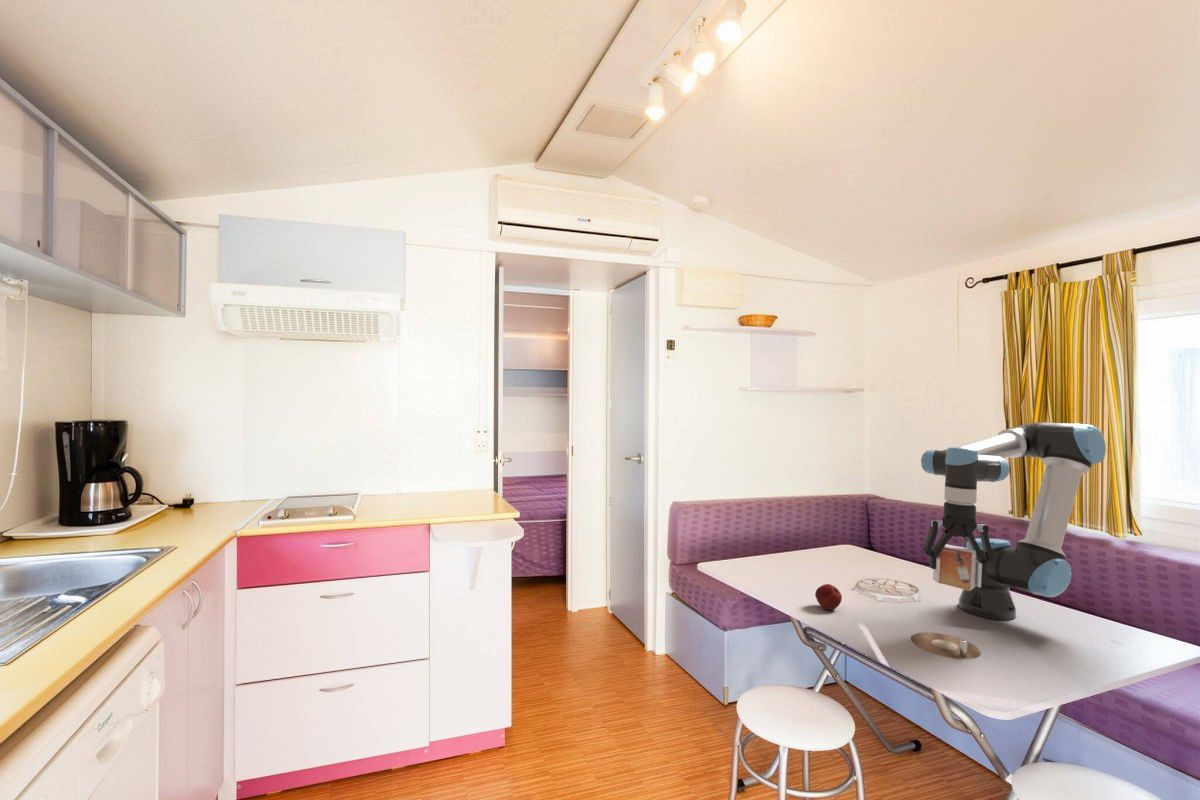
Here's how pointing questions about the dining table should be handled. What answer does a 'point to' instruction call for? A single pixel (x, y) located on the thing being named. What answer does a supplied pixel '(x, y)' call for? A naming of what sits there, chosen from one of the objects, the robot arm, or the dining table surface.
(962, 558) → the small box
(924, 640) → the flange base
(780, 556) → the dining table surface
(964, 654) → the stop pin
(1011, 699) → the dining table surface
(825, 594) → the apple
